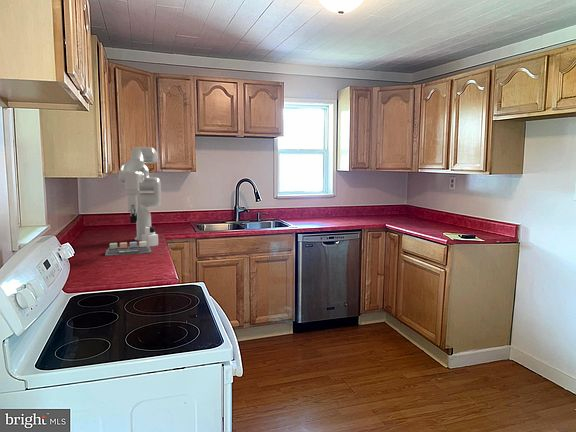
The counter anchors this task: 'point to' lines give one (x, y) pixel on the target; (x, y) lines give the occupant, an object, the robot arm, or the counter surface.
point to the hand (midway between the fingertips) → (133, 221)
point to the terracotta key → (123, 245)
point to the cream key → (142, 243)
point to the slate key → (133, 244)
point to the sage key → (113, 245)
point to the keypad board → (128, 251)
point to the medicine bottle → (150, 237)
